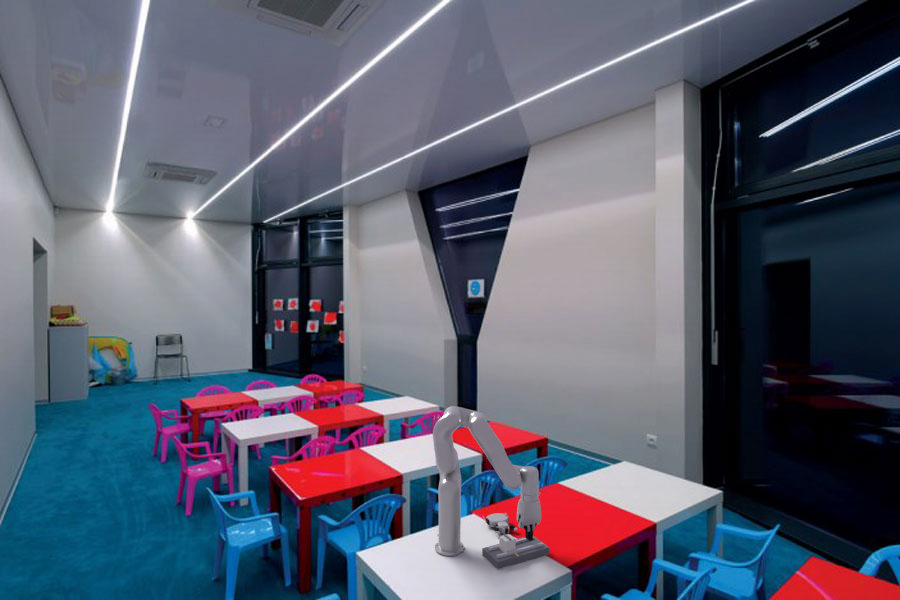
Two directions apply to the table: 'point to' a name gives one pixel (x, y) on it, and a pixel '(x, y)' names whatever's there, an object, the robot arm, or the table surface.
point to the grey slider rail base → (515, 553)
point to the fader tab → (507, 543)
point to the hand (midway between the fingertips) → (529, 539)
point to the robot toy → (499, 523)
